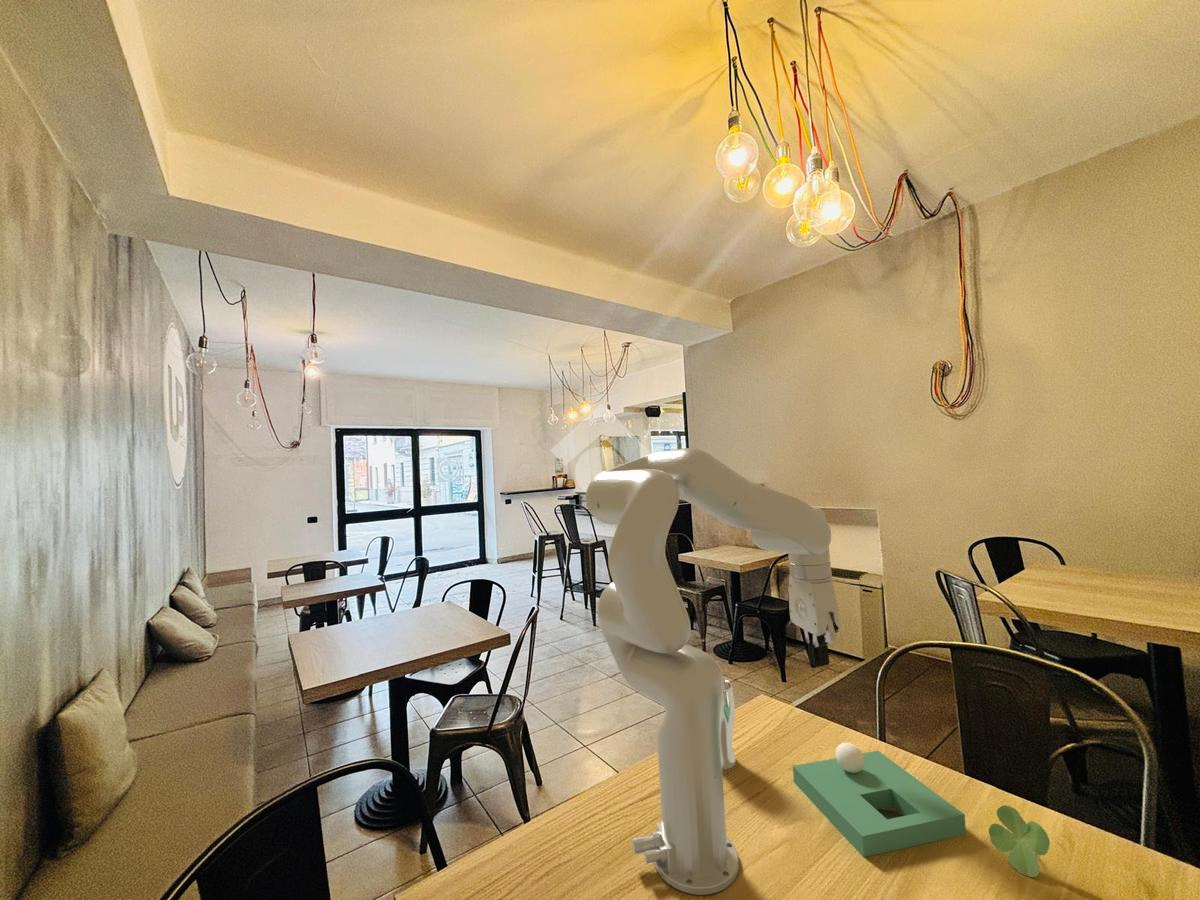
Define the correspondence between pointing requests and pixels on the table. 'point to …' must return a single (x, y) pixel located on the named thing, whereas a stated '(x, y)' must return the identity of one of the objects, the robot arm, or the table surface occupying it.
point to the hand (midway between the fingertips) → (819, 664)
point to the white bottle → (727, 726)
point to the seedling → (1019, 840)
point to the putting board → (878, 804)
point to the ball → (850, 757)
